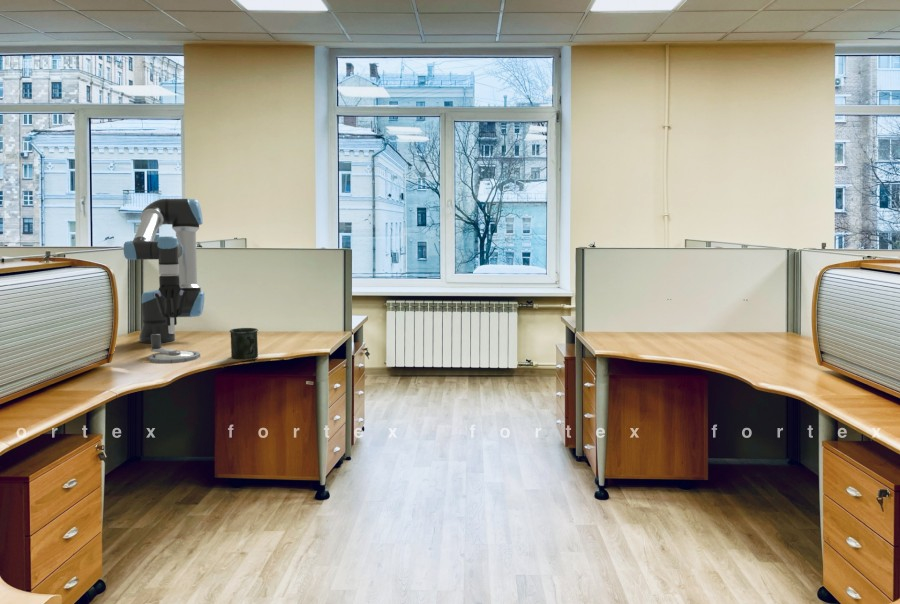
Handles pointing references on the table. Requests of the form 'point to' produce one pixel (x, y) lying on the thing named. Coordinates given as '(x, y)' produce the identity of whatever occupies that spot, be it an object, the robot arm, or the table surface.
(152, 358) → the panel
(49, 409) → the table surface
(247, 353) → the mug
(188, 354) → the dial
